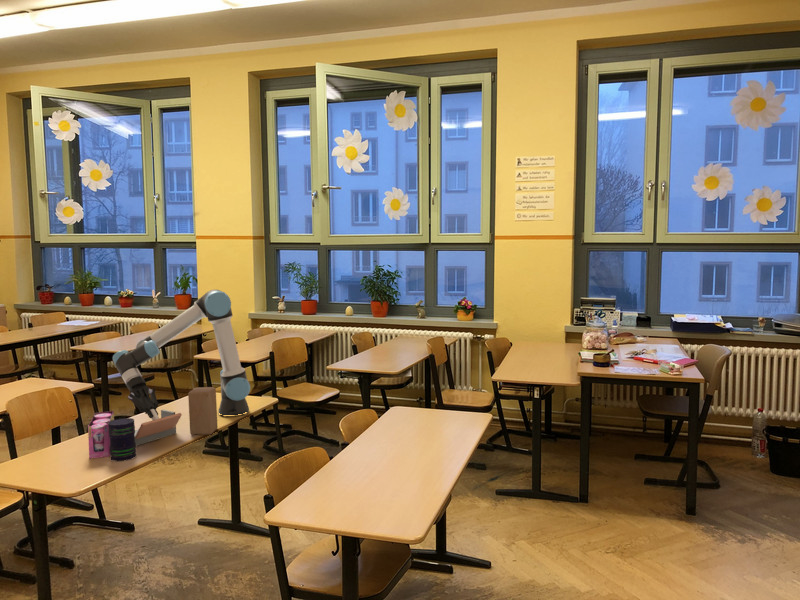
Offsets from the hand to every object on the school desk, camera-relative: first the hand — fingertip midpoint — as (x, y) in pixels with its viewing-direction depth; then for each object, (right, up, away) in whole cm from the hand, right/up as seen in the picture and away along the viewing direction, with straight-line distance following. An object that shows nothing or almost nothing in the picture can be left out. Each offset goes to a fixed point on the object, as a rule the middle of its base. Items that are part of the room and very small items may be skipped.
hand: (157, 422), depth 271 cm
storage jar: (-7, -11, -19) cm, 23 cm away
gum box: (-20, -10, -8) cm, 24 cm away
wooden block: (+16, -7, +14) cm, 22 cm away
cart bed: (-6, -8, +5) cm, 12 cm away
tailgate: (-2, -4, +2) cm, 6 cm away
